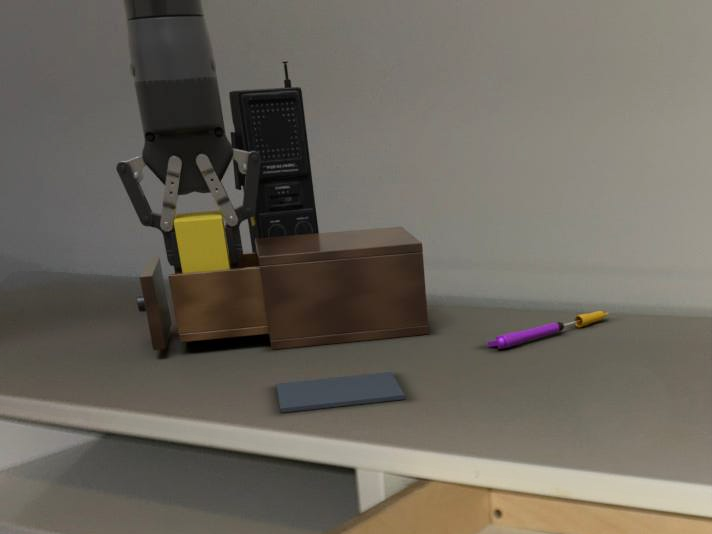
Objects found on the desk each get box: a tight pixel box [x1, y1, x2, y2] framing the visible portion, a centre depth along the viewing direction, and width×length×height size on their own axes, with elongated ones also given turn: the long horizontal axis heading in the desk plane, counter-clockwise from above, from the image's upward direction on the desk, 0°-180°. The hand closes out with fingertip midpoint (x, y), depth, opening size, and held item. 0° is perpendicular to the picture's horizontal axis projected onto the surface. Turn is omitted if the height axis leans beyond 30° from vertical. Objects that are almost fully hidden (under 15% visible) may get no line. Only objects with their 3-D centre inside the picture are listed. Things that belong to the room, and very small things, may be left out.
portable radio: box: [228, 61, 320, 252], centre depth 116 cm, size 8×6×25 cm
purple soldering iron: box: [487, 310, 610, 350], centre depth 105 cm, size 3×1×16 cm
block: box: [174, 209, 231, 273], centre depth 107 cm, size 4×7×10 cm, turn 12°
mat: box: [275, 371, 406, 414], centre depth 89 cm, size 10×8×1 cm
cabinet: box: [255, 226, 430, 351], centre depth 110 cm, size 16×14×9 cm
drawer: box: [136, 251, 269, 351], centre depth 108 cm, size 16×12×7 cm
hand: (207, 267), depth 107 cm, fingers closed on block, 4 cm apart
